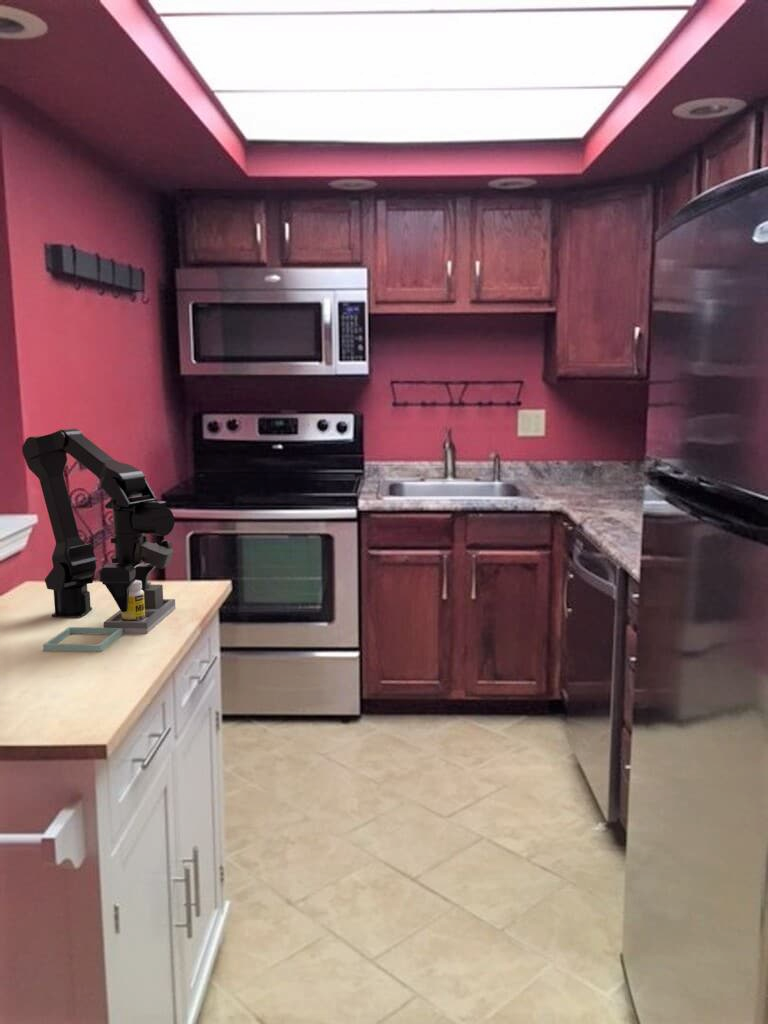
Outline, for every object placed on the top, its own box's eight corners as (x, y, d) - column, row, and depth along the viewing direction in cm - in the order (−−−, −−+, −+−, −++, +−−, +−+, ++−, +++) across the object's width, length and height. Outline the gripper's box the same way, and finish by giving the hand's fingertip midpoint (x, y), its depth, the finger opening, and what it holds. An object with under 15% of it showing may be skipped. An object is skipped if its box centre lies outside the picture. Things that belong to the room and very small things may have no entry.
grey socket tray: (104, 632, 170) (103, 622, 170) (136, 608, 188) (135, 598, 188) (147, 633, 170) (147, 622, 169) (175, 608, 187) (175, 599, 187)
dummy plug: (133, 612, 181) (131, 584, 180) (141, 606, 186) (140, 579, 185) (156, 613, 180) (154, 585, 179) (163, 606, 185) (162, 579, 184)
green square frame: (43, 650, 159) (43, 644, 159) (69, 632, 170) (68, 626, 170) (101, 651, 159) (100, 645, 158) (123, 633, 170) (122, 627, 169)
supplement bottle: (138, 625, 172) (136, 585, 170) (117, 624, 172) (115, 584, 171) (149, 618, 176) (147, 579, 175) (128, 617, 177) (126, 578, 176)
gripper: (151, 540, 161) (155, 619, 164) (181, 523, 180) (184, 594, 182) (95, 540, 162) (100, 618, 165) (130, 523, 180) (134, 593, 183)
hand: (132, 605), depth 174 cm, fingers open, 9 cm apart
